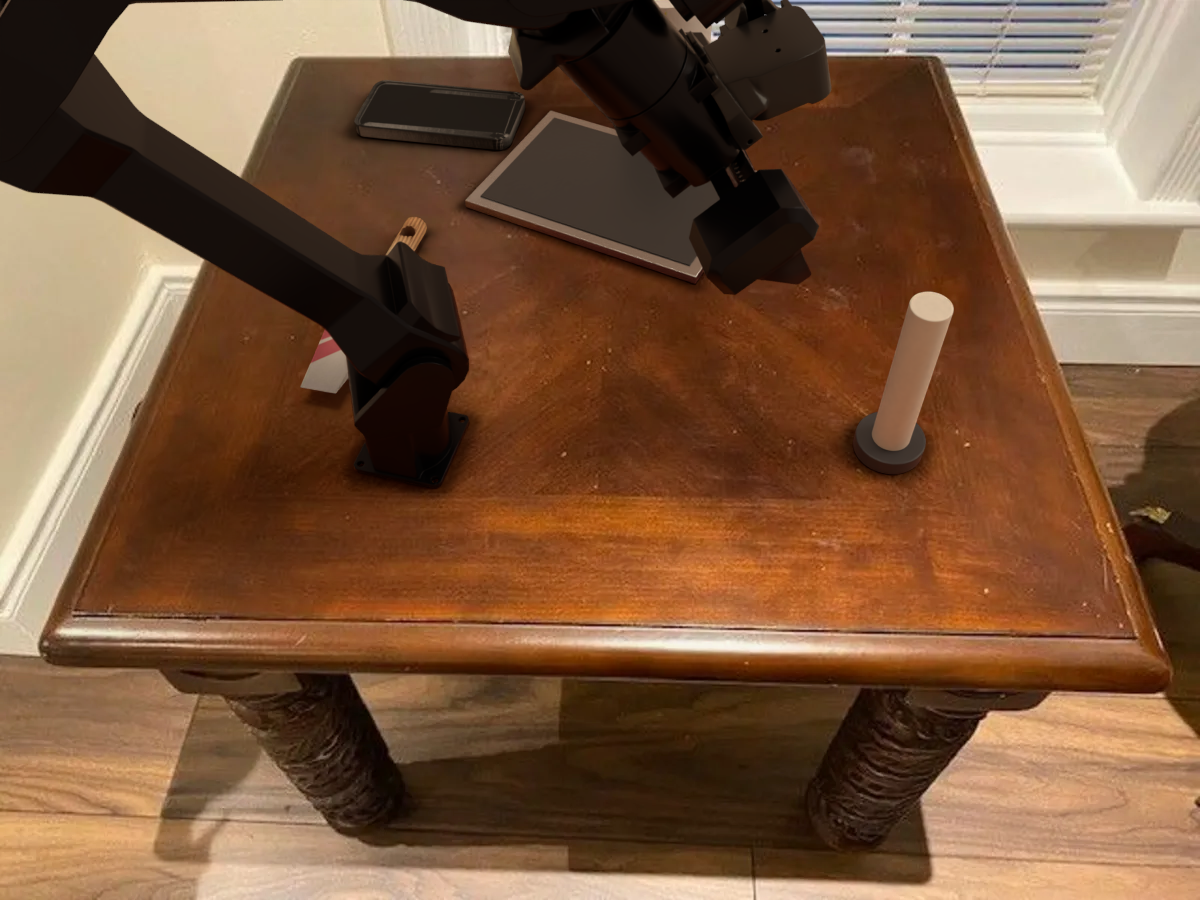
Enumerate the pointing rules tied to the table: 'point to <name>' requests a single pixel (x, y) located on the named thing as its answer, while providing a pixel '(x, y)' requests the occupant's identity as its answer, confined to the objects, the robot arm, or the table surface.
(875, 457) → the peg on round base
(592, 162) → the tablet
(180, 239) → the robot arm
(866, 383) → the table surface
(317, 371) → the paintbrush
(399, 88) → the phone
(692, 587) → the table surface
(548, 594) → the table surface
